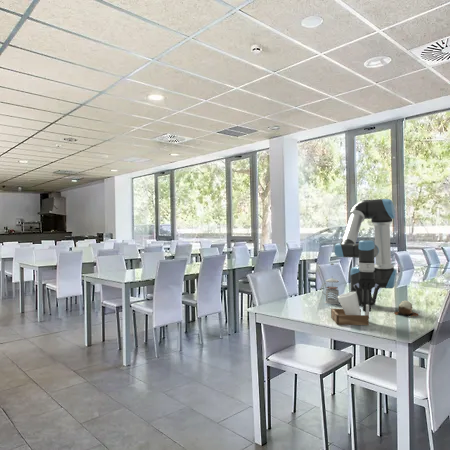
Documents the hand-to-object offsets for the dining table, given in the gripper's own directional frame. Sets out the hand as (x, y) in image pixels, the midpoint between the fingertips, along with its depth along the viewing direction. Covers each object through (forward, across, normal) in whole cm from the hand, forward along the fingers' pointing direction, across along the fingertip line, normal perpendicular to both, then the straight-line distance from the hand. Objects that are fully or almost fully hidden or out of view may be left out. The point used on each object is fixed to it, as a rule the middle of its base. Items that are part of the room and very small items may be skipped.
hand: (367, 318), depth 196 cm
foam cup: (+1, -6, -1) cm, 6 cm away
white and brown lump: (+2, +25, +19) cm, 32 cm away
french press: (+2, -10, +50) cm, 51 cm away
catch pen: (+2, -8, 0) cm, 8 cm away
